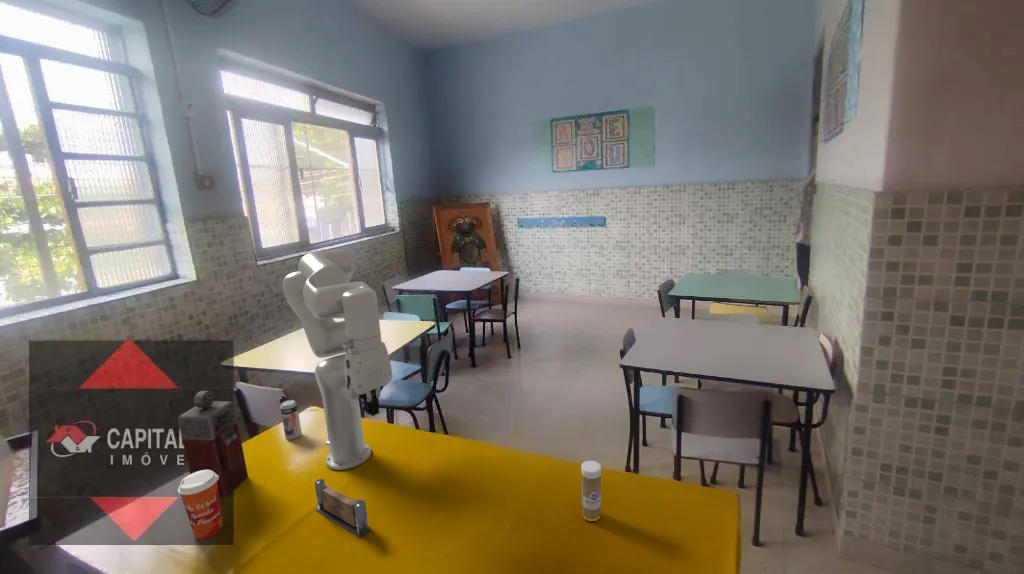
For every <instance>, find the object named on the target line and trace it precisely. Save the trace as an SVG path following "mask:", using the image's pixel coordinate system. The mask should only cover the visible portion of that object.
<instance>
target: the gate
mask: <svg viewBox="0 0 1024 574" xmlns="http://www.w3.org/2000/svg"><path fill="white" fill-rule="evenodd" d="M321 494H322V500H323V507H324V509H325V510H327V511H329V512H330V513H332V514H334V515H335V516H337V517H339V518H340V519H342V520H344V521H345V522H347V523H349V524H350V525H352V526H353V527H356V526H357V524H356V516H355V509H354V504H355V503H356V502H358V501H356V500H357V499H354V498H353V499H352V498H350V497H348V496H347V495H345V494H343V493H341V492H339V491H337V490H336V489H334V488H332V487H331V486H329V485H325V487H324V488H322V489H321Z"/></svg>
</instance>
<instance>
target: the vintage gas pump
mask: <svg viewBox="0 0 1024 574" xmlns="http://www.w3.org/2000/svg"><path fill="white" fill-rule="evenodd" d="M214 399H215V395H214V393H213V392H212V391H211V390H200V391H198V392H196V394H195V395H194V397H193V404H194V406H193V407H192V408H191V409H189V410H187V411H186V412H185V411H184V412H183V413H182V414H181V415H179V416H178V417H177V423H178V426H179V427H178V428H179V433H180V436H181V439H182V445H183V451H184V453H185V458H186V462H187V466H188V471H189V475H190V474H192V473H195V472H197V471H201V470H212V471H213V472H215V473H216V474H217V475H218V476H219V478H218V480H217V485H218V493H219V499H226V498H228V497H229V496H230V495H231V494H233V492H234V491H235V490H236V489H237V488H238V487H240V485H242V484H243V482H245V480H247V479H248V478H249V475H248V470H247V469H248V468H247V464H246V460H245V453H244V449H243V443H242V439H241V435H240V434H241V433H240V429H239V428H240V427H239V423H238V418H237V413H236V407H235V404H234V402H233V401H229V400H227V401H226V400H223V401H222V400H221V401H218V400H214Z"/></svg>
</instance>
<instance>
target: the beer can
mask: <svg viewBox="0 0 1024 574" xmlns="http://www.w3.org/2000/svg"><path fill="white" fill-rule="evenodd" d="M279 408H280V414H281V419H282V425H283V431H284V438H285V439H286V440H291V441H292V440H296V439H297V438H299V437H300V436H301V435H302V427H301V422H300V415H299V409H298V404H297V402H296V400H294V399H289V400H285V401H283V402H281V404H280V407H279Z"/></svg>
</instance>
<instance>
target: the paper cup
mask: <svg viewBox="0 0 1024 574" xmlns="http://www.w3.org/2000/svg"><path fill="white" fill-rule="evenodd" d="M218 478H219V476H218V475H217V474H216V473H215V472H213V471H212V470H201V471H197V472H195V473H192V474H190V473H189V475H187V476H185V477H184V478H183V479H182V480H181V481H180V484H179V486H178V489H177V492H178V494H180V497H181V500H182V503H183V506H184V509H185V512H186V515H187V518H188V521H189V524H190V527H191V530H192V532H193V535H194V537H195V538H196V539H197V540H206V539H209V538H211V537H213V536H215V535H216V534H219V532H220V531H221V530H222V528H223V516H222V509H221V501H220V498H219V493H218V485H217V480H218Z"/></svg>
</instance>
